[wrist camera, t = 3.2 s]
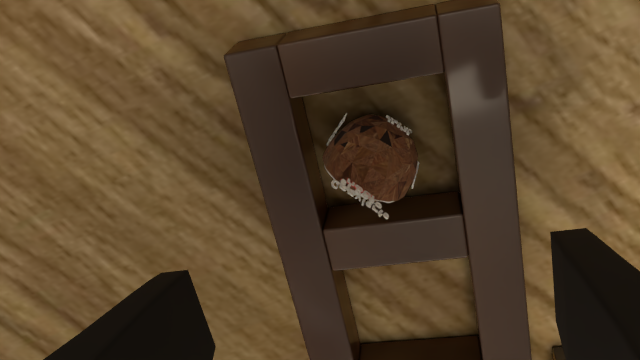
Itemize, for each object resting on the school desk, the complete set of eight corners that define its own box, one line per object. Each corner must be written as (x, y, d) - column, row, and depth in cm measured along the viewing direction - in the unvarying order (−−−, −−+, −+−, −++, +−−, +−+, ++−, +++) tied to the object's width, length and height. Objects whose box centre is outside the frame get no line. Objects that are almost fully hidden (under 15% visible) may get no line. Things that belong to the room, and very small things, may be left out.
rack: (356, 480, 26) (353, 514, 25) (236, 41, 18) (222, 55, 17) (537, 476, 25) (545, 512, 23) (493, -8, 17) (500, 2, 15)
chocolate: (440, 137, 19) (447, 196, 15) (398, 187, 20) (394, 254, 16) (362, 83, 18) (349, 131, 15) (323, 137, 19) (302, 194, 16)
